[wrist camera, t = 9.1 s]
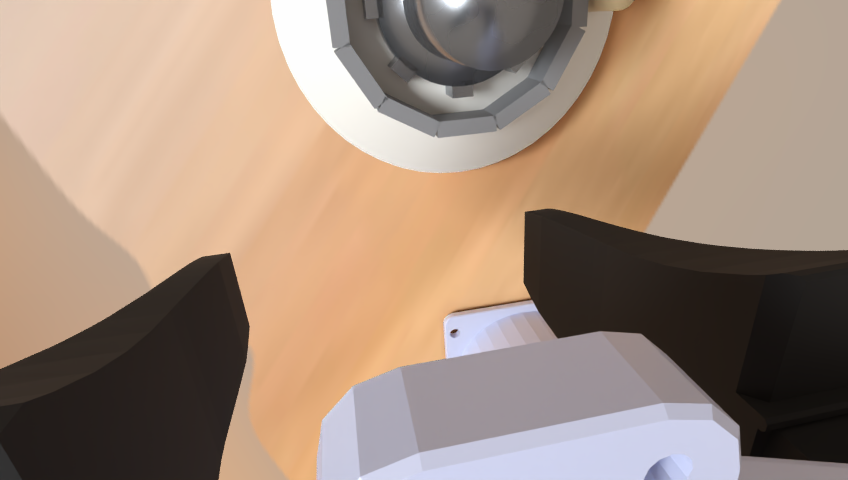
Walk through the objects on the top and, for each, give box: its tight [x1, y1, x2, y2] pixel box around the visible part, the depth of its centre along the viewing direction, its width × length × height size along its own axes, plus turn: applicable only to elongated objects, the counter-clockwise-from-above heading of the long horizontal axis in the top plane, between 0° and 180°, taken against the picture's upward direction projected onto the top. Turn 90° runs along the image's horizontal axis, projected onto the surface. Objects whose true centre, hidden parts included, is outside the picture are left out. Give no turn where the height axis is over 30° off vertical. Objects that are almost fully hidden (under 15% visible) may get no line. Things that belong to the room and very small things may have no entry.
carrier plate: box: [271, 0, 634, 173], centre depth 18 cm, size 13×13×3 cm
